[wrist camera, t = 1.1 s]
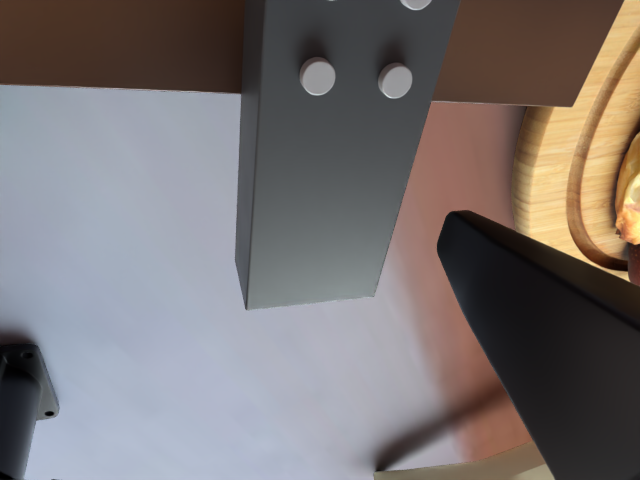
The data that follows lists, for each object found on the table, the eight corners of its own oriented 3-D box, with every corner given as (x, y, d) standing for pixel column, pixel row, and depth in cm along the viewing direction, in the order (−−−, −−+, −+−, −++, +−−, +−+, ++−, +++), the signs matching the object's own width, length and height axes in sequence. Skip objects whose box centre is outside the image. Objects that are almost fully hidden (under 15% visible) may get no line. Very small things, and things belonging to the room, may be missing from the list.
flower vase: (359, 393, 52) (686, 323, 47) (385, 463, 57) (682, 407, 52) (367, 489, 41) (791, 412, 36) (397, 565, 46) (773, 507, 41)
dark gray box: (350, 252, 18) (377, 303, 16) (234, 260, 17) (247, 318, 14) (483, -322, 9) (586, -384, 7) (259, -409, 8) (302, -521, 6)
